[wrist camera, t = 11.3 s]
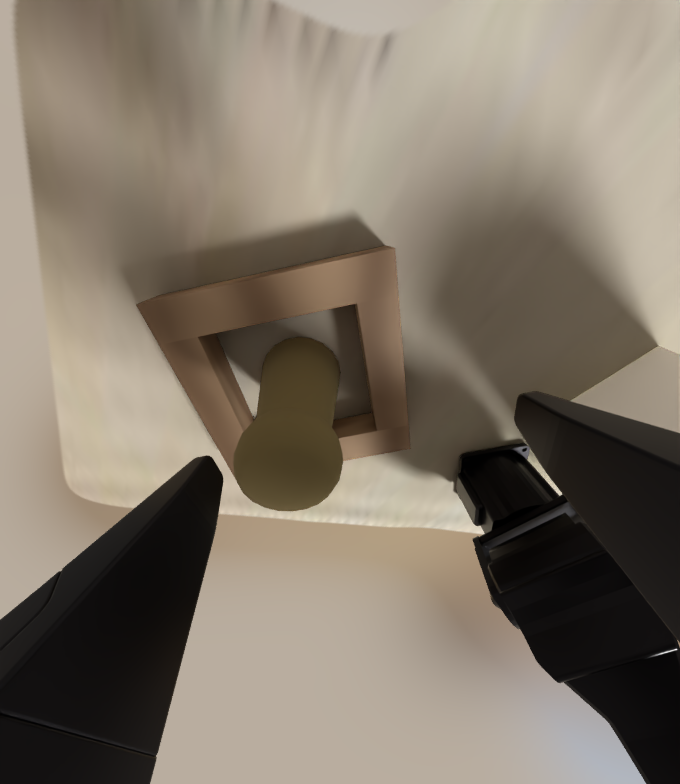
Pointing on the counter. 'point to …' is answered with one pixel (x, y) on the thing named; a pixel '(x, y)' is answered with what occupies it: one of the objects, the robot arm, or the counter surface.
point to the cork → (292, 429)
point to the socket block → (279, 301)
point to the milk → (641, 390)
